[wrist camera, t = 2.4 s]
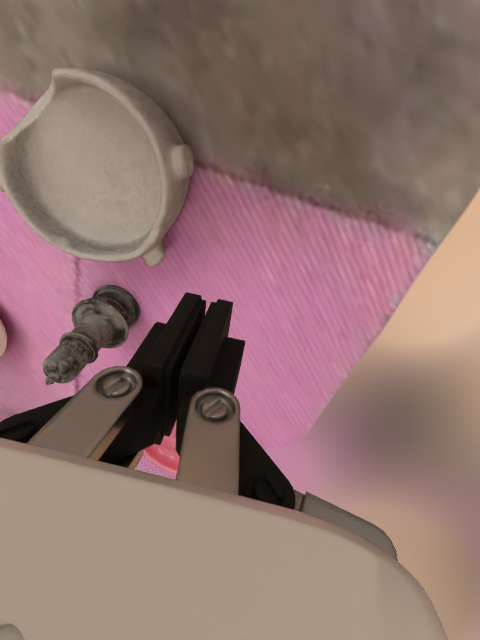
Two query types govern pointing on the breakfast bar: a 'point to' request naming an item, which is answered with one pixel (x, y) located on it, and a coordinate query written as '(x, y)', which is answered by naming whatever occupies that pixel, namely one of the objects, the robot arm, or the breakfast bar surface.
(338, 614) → the robot arm
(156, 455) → the saucer
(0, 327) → the flower in vase
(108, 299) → the salt shaker
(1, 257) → the breakfast bar surface
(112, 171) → the dish
